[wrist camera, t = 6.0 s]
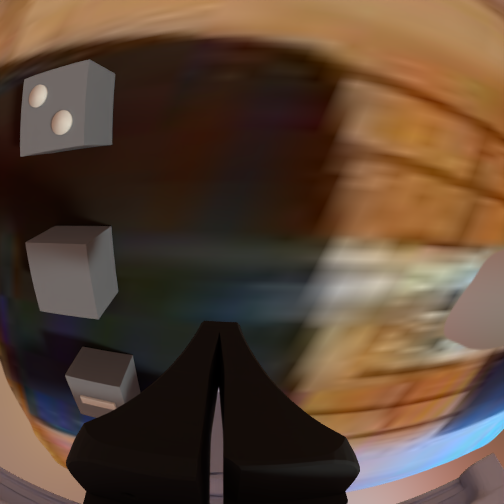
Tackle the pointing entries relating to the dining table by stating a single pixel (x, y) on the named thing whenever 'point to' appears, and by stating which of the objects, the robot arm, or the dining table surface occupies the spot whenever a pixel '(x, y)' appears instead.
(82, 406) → the barred block
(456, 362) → the dining table surface
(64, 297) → the plain block
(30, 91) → the dotted block
